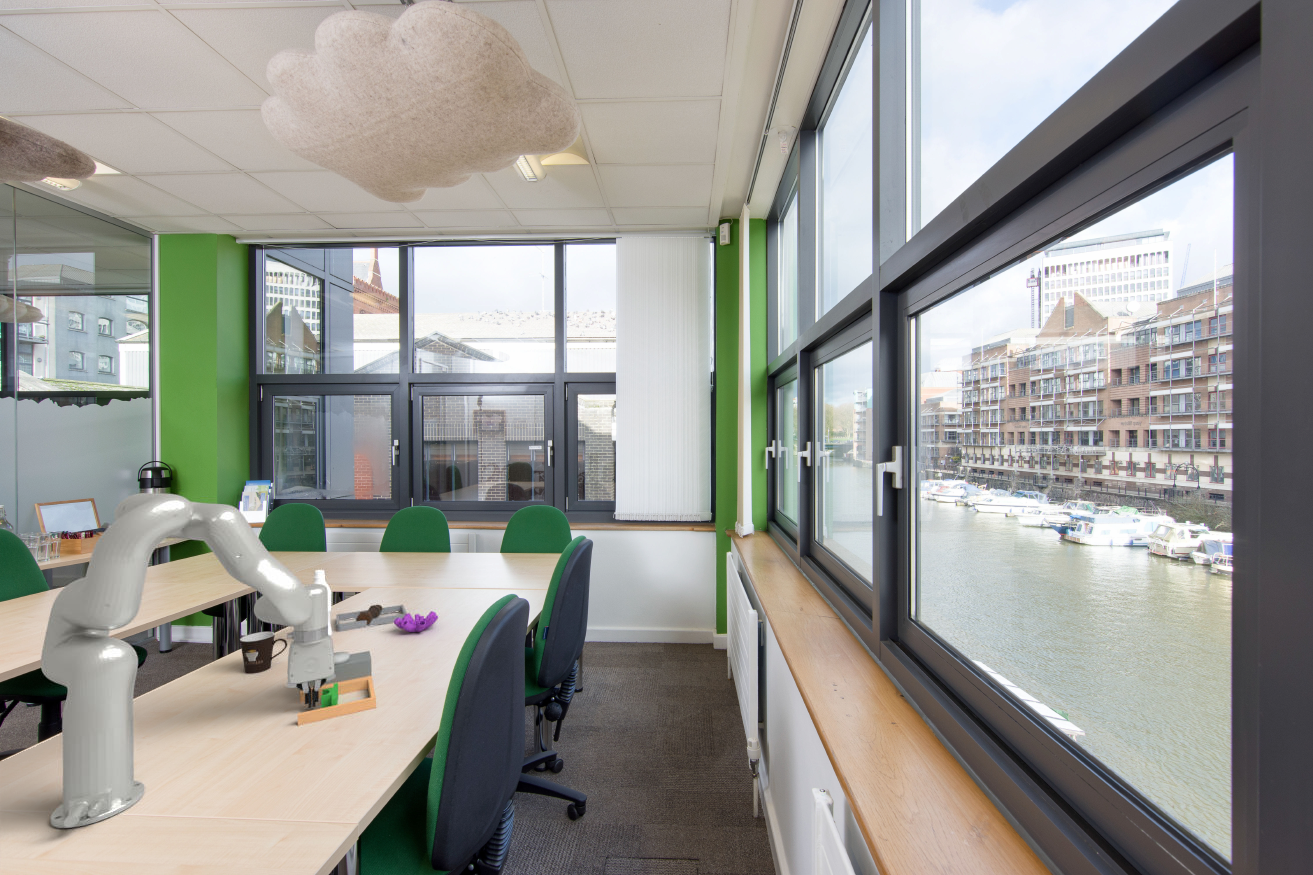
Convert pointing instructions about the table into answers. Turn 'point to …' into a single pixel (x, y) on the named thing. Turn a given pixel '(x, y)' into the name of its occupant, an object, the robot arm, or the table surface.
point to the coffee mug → (258, 651)
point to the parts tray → (364, 623)
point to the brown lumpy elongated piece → (370, 613)
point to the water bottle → (320, 579)
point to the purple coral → (416, 622)
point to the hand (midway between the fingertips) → (311, 705)
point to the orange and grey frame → (344, 687)
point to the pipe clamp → (329, 696)
